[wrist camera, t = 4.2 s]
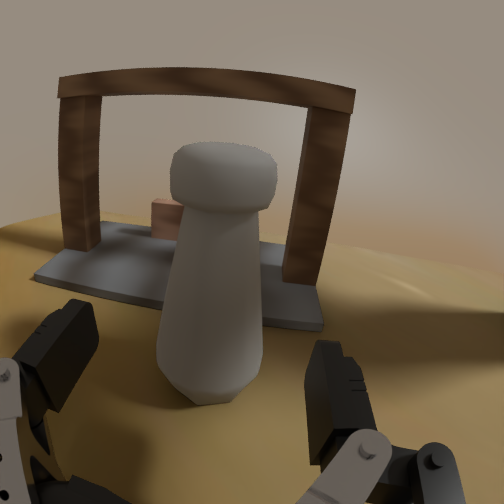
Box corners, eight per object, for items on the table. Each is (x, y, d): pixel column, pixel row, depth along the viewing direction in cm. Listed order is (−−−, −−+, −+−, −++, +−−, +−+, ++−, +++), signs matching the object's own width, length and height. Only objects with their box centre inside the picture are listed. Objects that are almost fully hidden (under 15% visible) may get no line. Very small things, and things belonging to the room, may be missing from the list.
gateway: (304, 254, 35) (332, 97, 28) (321, 331, 22) (377, 82, 15) (102, 226, 35) (105, 82, 28) (35, 281, 22) (23, 75, 15)
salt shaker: (142, 365, 17) (131, 138, 12) (217, 336, 21) (236, 138, 15) (195, 435, 13) (205, 156, 8) (276, 388, 17) (329, 159, 11)
